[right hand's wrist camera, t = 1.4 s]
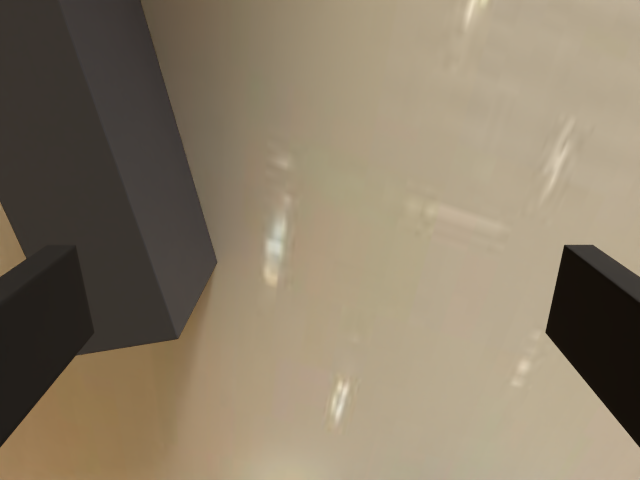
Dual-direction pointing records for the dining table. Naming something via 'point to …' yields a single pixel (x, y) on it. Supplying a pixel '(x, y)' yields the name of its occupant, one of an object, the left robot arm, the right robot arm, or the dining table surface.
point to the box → (100, 164)
